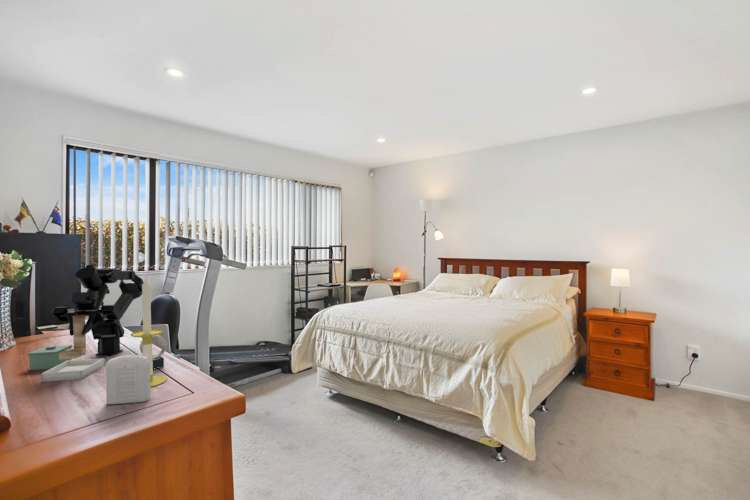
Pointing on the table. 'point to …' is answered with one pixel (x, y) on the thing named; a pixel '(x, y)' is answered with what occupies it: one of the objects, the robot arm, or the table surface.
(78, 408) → the table surface
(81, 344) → the tan cylinder with block
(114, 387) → the gravestone
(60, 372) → the tray
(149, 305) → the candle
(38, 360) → the green lidded box
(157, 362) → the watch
